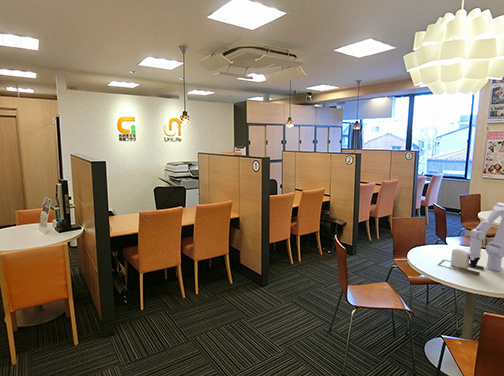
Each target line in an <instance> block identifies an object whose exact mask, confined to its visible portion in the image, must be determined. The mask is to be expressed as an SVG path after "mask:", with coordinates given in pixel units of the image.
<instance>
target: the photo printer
mask: <svg viewBox="0 0 504 376" xmlns="http://www.w3.org/2000/svg"><path fill="white" fill-rule="evenodd" d="M451 251H452V252H451V256H450V257H451V258H450V259H451V260H450V261H451V262H450V266H452V267H456V268H459V267H461V268H465V269H469V263H470V260H469V256H470V255H469V253H470V251H466V250H465V249H460V248H452V250H451Z"/></svg>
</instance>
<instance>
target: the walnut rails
mask: <svg viewBox="0 0 504 376" xmlns="http://www.w3.org/2000/svg"><path fill="white" fill-rule="evenodd" d="M469 268H471V263H470V262H469V266H468V269H465V268H461V267H458V271H459V272H462V273H466V274H470V275H474V276H478V277H479V276H481V275H480V274H481V272H480V271H475V270H472V269H469ZM475 269H477V270H482V271H485V266H482V265H478V264H477V265H476V268H475Z"/></svg>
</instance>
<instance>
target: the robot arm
mask: <svg viewBox="0 0 504 376" xmlns="http://www.w3.org/2000/svg"><path fill="white" fill-rule="evenodd" d="M499 217H500V218H501V219H500V222H499V224H498V228H497V230H496V233H495V235H494V239H493V240H491V241H489V242H488V244H487V245H486V246H485V252H486V254H487V262H486V266H484V269H486V270H491V271H496V272H499V273H500V272H501V271H502V270H503V267H502V260H503V258H504V203H503V202H496V203H495V204H494V206H493V207H492V212H490V214H489V215H488V216H487V218H486V219H485V220H482V221H481V222H480V223H479V224H478V225H477V226H476V227H475V228H473V229H471V230H470V232H469V233H468V234H469V237H470V246H469V255H470V256H469V263H471V267H470V269H471V268H472V269H477V268H476V265H478V262H479V261H480V259H481V256H482V255H481V254H482V253H481V251H482V243H483V240H484V239H485V238H486V235H487V232H489V230H490V229H491V228H492V223H494V222H495V221H496V220H497V219H498V218H499Z"/></svg>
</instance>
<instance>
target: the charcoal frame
mask: <svg viewBox="0 0 504 376" xmlns="http://www.w3.org/2000/svg"><path fill="white" fill-rule="evenodd" d="M445 261H446V262H449V263H451V260H449V259H448V260H447V259H442V260H441V261H440V262H439V263H438V264H437V266H439V267H442V268H446V269H447V268H448V269H450V270H455V271H458V269H457V268H453V267H448V266H445V265H441V264H442V263H444V262H445Z"/></svg>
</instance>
